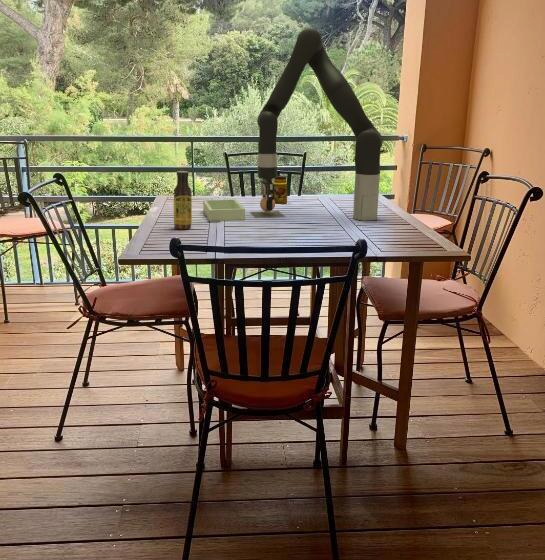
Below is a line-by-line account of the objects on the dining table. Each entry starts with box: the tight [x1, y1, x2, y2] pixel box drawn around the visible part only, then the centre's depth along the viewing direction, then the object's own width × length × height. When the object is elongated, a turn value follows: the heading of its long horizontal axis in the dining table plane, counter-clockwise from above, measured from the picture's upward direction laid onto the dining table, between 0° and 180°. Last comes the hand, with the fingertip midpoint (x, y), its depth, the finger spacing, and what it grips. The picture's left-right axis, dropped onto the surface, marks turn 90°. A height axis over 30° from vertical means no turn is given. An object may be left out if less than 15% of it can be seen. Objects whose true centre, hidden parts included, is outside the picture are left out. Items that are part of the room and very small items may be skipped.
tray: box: [202, 198, 246, 223], centre depth 225 cm, size 22×13×4 cm, turn 13°
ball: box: [259, 197, 276, 212], centre depth 226 cm, size 6×6×6 cm
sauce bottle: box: [173, 170, 193, 230], centre depth 202 cm, size 6×6×20 cm
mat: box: [249, 210, 286, 219], centre depth 228 cm, size 12×12×1 cm
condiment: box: [273, 175, 291, 205], centre depth 252 cm, size 7×8×12 cm
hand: (267, 208), depth 227 cm, fingers closed on ball, 6 cm apart
